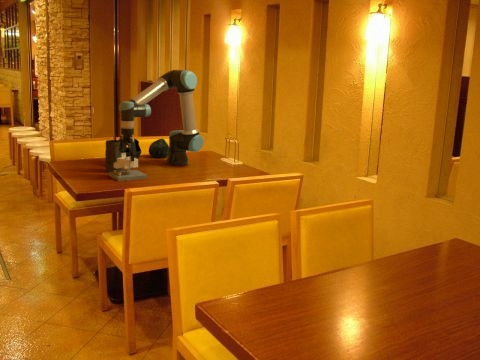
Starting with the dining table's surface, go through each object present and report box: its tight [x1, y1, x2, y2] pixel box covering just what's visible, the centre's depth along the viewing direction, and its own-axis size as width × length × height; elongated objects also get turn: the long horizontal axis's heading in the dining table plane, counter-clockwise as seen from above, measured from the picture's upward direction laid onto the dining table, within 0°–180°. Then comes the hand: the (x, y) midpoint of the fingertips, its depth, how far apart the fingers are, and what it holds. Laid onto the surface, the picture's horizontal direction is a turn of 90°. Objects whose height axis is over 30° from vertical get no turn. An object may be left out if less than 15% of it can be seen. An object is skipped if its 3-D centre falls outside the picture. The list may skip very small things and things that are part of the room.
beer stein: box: [104, 139, 124, 174], centre depth 314 cm, size 15×11×20 cm
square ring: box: [114, 157, 139, 170], centre depth 297 cm, size 13×9×5 cm
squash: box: [148, 138, 169, 159], centre depth 365 cm, size 14×15×15 cm
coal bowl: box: [118, 138, 142, 160], centre depth 334 cm, size 20×20×19 cm
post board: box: [108, 157, 148, 182], centre depth 299 cm, size 18×16×12 cm
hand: (127, 165), depth 299 cm, fingers closed on square ring, 9 cm apart
